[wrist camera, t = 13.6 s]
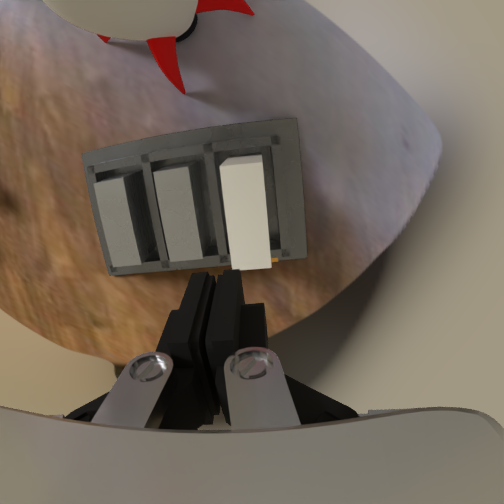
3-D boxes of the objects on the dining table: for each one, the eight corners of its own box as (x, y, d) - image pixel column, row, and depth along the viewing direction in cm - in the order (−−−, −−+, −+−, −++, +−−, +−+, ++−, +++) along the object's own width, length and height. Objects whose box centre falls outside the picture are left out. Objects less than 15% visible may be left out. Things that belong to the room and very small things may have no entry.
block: (229, 156, 30) (219, 166, 22) (261, 153, 29) (262, 162, 22) (238, 236, 32) (232, 270, 25) (268, 234, 32) (271, 267, 25)
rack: (84, 153, 30) (55, 159, 25) (296, 118, 29) (304, 116, 23) (111, 273, 35) (90, 296, 30) (306, 255, 34) (314, 279, 29)
